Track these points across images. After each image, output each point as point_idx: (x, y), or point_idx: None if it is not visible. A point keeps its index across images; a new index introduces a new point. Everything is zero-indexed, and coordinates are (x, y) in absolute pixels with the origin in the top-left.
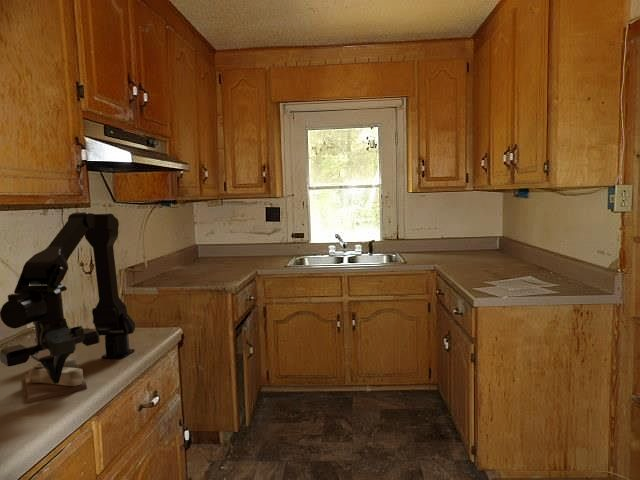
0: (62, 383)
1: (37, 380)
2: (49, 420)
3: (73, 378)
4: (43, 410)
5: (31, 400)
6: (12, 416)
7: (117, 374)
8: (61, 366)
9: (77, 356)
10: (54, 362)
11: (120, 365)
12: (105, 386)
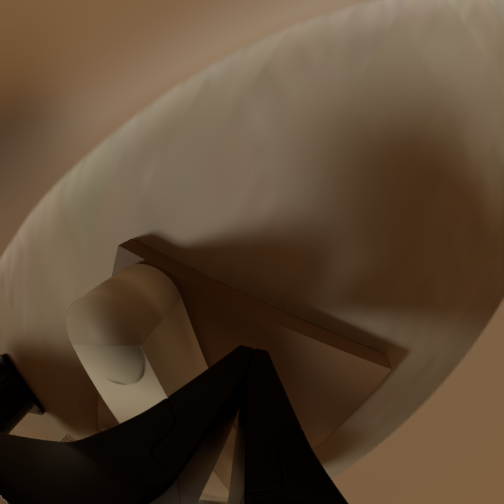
0: (200, 362)
1: None
2: (457, 45)
3: (146, 302)
4: (426, 184)
5: (378, 356)
6: (500, 271)
7: (20, 258)
8: (170, 414)
9: (61, 441)
10: (193, 496)
11: (9, 320)
12: (77, 174)
